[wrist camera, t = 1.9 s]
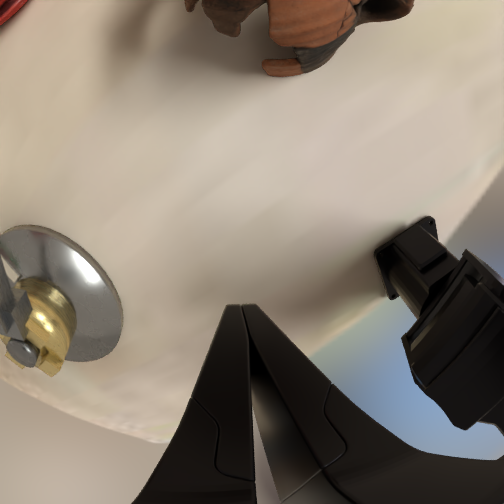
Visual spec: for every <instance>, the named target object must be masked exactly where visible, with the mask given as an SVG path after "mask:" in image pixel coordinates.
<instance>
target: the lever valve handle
mask: <svg viewBox="0 0 504 504" xmlns="http://www.w3.org/2000/svg"><path fill="white" fill-rule="evenodd" d="M76 328H77V319H76V315H75V312H74V310H73V308H72V307H71V305H70V304H69V302H68V301H67V300H66V298H65V297H64V296H63V295H62V294H61V293H60V292H59V291H57V290H56V289H55V288H54V287H52V286H51V285H49V284H47V283H45V282H43V281H41V280H38V279H34V278H24V279H21V280H19V281H18V282H17V283H16V284H15V286H14V287H13V288H11V286H10V283H9V280H8V277H7V274H6V271H5V268H4V265H3V261H2V258H1V254H0V338H1V339H2V341H3V342H4V344H5V345H6V346H7V343H8V341H9V340H10V338H15V339H18V340H22V341H24V340H25V338H26V339H27V340H29V341H30V342H31V343H32V344H34V345H35V346H36V347H38V348H39V349H40V355H39V357H38V360H37V362H36V364H35V367H38V368H39V369H40V370H42V371H43V372H45V373H46V374H47V375H49V376H50V377H52V376H54V375H55V374H56V373H57V372H59V371H60V369H61V366H62V364H63V362H64V360H65V357H66V354H67V352H68V349H69V346H70V344H71V341H72V339H73V336H74V334H75V331H76ZM5 356H6V357H7V358H9V359H10V360H11V361H12V362H14V363H15V364H16V365H18V366H19V367H20V368H21V369H23V368H24V367H25V366H24V365H22V364H20V363H18V362H17V361H16V360H15V359H13V358H12V356H11V355H10V354H9V353H8V351H7V352H6V354H5Z"/></svg>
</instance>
